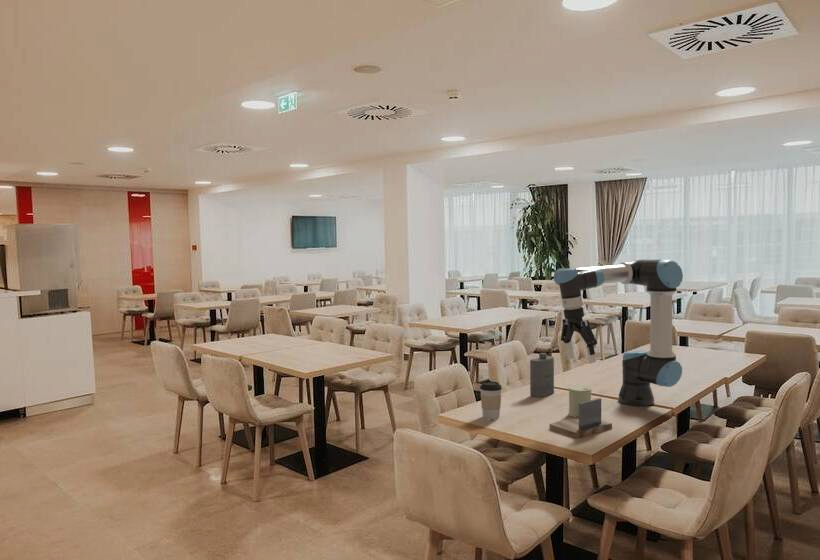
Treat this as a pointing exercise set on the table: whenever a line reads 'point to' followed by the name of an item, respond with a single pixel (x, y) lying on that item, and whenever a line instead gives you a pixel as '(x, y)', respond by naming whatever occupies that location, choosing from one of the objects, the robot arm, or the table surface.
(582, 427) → the bookend
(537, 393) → the flask
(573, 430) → the shelf board
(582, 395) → the can
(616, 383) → the table surface
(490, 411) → the coffee cup
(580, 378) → the table surface
